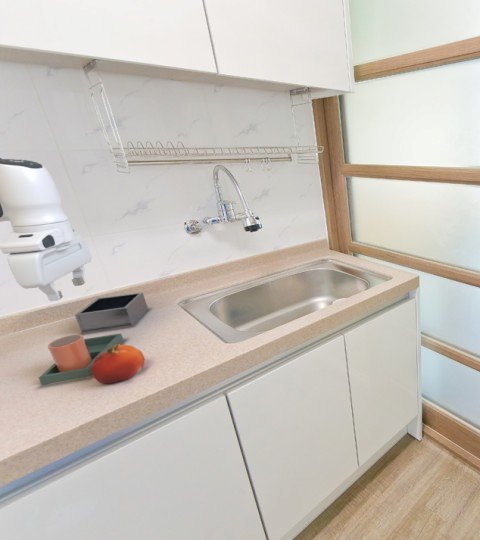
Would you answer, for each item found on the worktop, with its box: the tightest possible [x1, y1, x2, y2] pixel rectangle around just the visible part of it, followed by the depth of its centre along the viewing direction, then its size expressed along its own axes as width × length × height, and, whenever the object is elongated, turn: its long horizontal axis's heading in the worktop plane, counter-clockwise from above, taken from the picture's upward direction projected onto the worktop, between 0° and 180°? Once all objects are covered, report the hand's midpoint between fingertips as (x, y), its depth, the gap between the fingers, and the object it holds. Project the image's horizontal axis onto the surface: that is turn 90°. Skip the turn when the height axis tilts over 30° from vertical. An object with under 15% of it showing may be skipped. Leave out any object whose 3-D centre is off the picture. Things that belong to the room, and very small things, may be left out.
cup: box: [47, 333, 92, 372], centre depth 80 cm, size 6×6×8 cm
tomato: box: [91, 343, 146, 384], centre depth 77 cm, size 9×9×8 cm
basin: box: [74, 292, 149, 335], centre depth 104 cm, size 13×13×7 cm
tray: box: [38, 333, 124, 386], centre depth 84 cm, size 9×17×3 cm, turn 18°
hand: (69, 291), depth 78 cm, fingers open, 8 cm apart
